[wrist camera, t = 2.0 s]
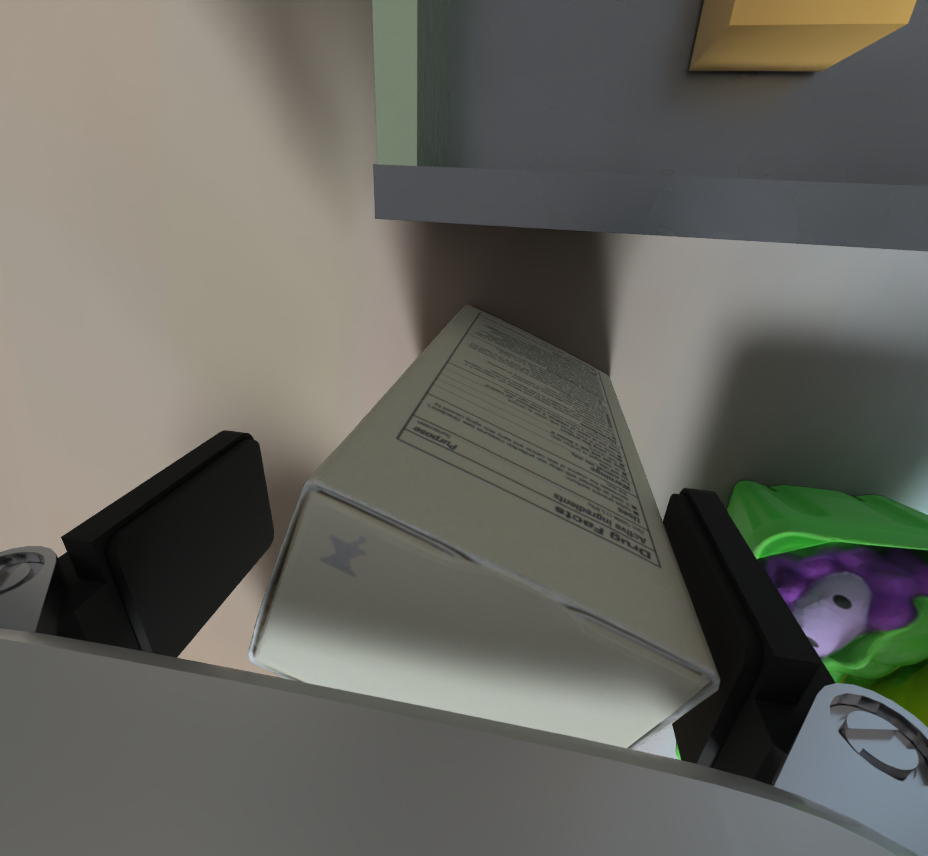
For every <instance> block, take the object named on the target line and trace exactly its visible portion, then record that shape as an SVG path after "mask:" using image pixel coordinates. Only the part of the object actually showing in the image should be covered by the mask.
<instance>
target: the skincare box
mask: <svg viewBox="0 0 928 856" xmlns="http://www.w3.org/2000/svg"><path fill="white" fill-rule="evenodd" d="M248 658H249V660H250V661H251V662H252V663H254V664H255V665H257V666H259V667H261V668H263V669H266V670H268V671H271V672H273V673H275V674H277V675H279V676H281V677H283V678H284V679H289V680H294V681H299V682H304V683H309V684H314V685H319V686H325V687H330V688H335V689H340V690H345V691H350V692H355V693H360V694H365V695H370V696H375V697H380V698H385V699H390V700H395V701H400V702H405V703H410V704H415V705H420V706H425V707H430V708H435V709H440V710H445V711H450V712H455V713H460V714H465V715H469V716H474V717H479V718H484V719H489V720H494V721H499V722H504V723H509V724H514V725H518V726H523V727H528V728H533V729H538V730H543V731H548V732H553V733H558V734H563V735H568V736H572V737H577V738H582V739H587V740H591V741H596V742H600V743H605V744H609V745H614V746H618V747H623V748H627V749H632V750H636V749H637V748H639V747H640V746H641V745H643V744H644V743H645V742H647V741H648V740H650V739H651V738H653V737H654V736H656V735H657V734H658V733H660V732H661V731H662V730H664V729H665V728H667V727H668V726H670V725H671V724H672V723H674V722H675V721H676V720H678V719H679V718H680V717H681V716H683V715H684V714H685V713H687V712H688V711H690V710H691V709H692V708H694V707H695V706H697V705H698V704H699V703H701V702H702V701H703V700H705V699H706V698H708V697H709V696H710V695H712V694H713V693H715V692H716V691H718V689H719V685H720V680H721V679H720V677H719V674H718V672H717V669H716V667H715V664H714V661H713V658H712V655H711V652H710V650H709V647H708V644H707V642H706V639H705V636H704V633H703V631H702V628H701V625H700V623H699V620H698V617H697V615H696V612H695V609H694V606H693V603H692V600H691V598H690V595H689V592H688V590H687V587H686V585H685V582H684V579H683V577H682V574H681V571H680V568H679V566H678V563H677V560H676V557H675V555H674V552H673V549H672V546H671V544H670V541H669V538H668V535H667V533H666V530H665V527H664V524H663V522H662V519H661V516H660V513H659V510H658V508H657V505H656V502H655V499H654V497H653V494H652V491H651V488H650V486H649V483H648V480H647V478H646V475H645V472H644V469H643V467H642V464H641V461H640V458H639V456H638V453H637V450H636V447H635V445H634V442H633V440H632V437H631V434H630V431H629V429H628V426H627V423H626V420H625V418H624V415H623V412H622V410H621V407H620V404H619V401H618V399H617V396H616V393H615V391H614V388H613V385H612V382H611V380H610V377H609V376H608V375H606V374H605V373H603V372H601V371H600V370H598V369H596V368H594V367H592V366H591V365H589V364H587V363H585V362H583V361H581V360H579V359H578V358H576V357H574V356H572V355H570V354H568V353H566V352H565V351H563V350H561V349H559V348H557V347H555V346H553V345H551V344H549V343H547V342H545V341H543V340H541V339H539V338H537V337H535V336H533V335H531V334H529V333H527V332H525V331H523V330H521V329H519V328H517V327H515V326H513V325H511V324H509V323H507V322H505V321H503V320H500V319H498V318H496V317H494V316H492V315H490V314H488V313H485V312H483V311H481V310H479V309H477V308H475V307H473V306H470V305H465V306H463V308H462V309H461V310H460V311H459V312H458V313H457V314H456V315H455V316H454V318H453V319H452V320H451V321H450V322H449V323H448V324H447V325H446V326H445V327H444V329H443V330H442V331H441V332H440V333H439V334H438V336H437V337H436V338H435V339H434V340H433V341H432V342H431V343H430V344H429V345H428V346H427V348H426V349H425V350H424V351H423V352H422V353H421V354H420V355H419V356H418V357H417V359H416V360H415V361H414V362H413V363H412V364H411V365H410V367H409V368H408V369H407V370H406V371H405V372H404V373H403V375H402V376H401V377H400V378H399V379H398V380H397V381H396V383H395V384H394V385H393V386H392V387H391V388H390V389H389V390H388V391H387V393H386V394H385V395H384V396H383V397H382V398H381V399H380V400H379V401H378V403H377V404H376V405H375V406H374V407H373V408H372V409H371V411H370V412H369V413H368V414H367V415H366V416H365V417H364V418H363V419H362V420H361V422H360V423H359V424H358V425H357V426H356V427H355V429H354V430H353V431H352V432H351V433H350V434H349V435H348V436H347V437H346V439H345V440H344V441H343V442H342V443H341V444H340V445H339V446H338V447H337V448H336V449H335V450H334V451H333V452H332V453H331V455H330V456H329V457H328V458H327V459H326V460H325V461H324V462H323V463H322V464H321V466H320V467H319V468H318V469H317V470H316V471H315V472H314V474H313V475H312V476H311V477H310V478H309V479H308V480H307V482H306V483H305V485H304V486H303V489H302V492H301V495H300V498H299V500H298V503H297V506H296V509H295V511H294V514H293V516H292V519H291V521H290V523H289V526H288V529H287V532H286V535H285V538H284V541H283V543H282V546H281V548H280V551H279V554H278V556H277V559H276V562H275V565H274V568H273V571H272V574H271V577H270V579H269V582H268V585H267V588H266V591H265V594H264V598H263V601H262V604H261V607H260V610H259V613H258V616H257V620H256V624H255V627H254V633H253V637H252V640H251V644H250V647H249V652H248Z"/></svg>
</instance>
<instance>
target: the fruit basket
mask: <svg viewBox="0 0 928 856" xmlns="http://www.w3.org/2000/svg"><path fill="white" fill-rule="evenodd" d="M727 512H728V514H729V515H730V517H731V518H732V520H733V522H734V523H735V525H736V526H737V528H738V530H739V531H740V533H741V535H742V536H743V538H744V539H745V541H746V543H747V544H748V546H749V548H750V549H751V551H752V552H753V554H754V556H755V557H756V559H757V560H758V562H759V563H760V564H761V565H762V567H763V568H764V569H765V570H766V572H767V574H768V575H769V577H770V578H771V580H772V582H773V583H774V585H775V586H776V588H777V590H778V591H779V593H780V594H781V596H782V598H783V599H784V601H785V602H786V604H787V606H788V607H789V609H790V610H791V612H792V614H793V615H794V617H795V618H796V620H797V622H798V623H799V625H800V626H801V628H802V630H803V631H804V633H805V634H806V636H807V638H808V639H809V641H810V642H811V644H812V646H813V647H814V649H815V650H816V652H817V654H818V655H819V657H820V658H821V660H822V662H823V663H824V665H825V667H826V668H827V670H828V671H829V673H830V675H831V676H832V678H833V679H834V681H835V683H842V684H852V685H856V686H859V687H862V688H865V689H868V690H871V691H874V692H876V693H878V694H880V695H882V696H884V697H886V698H888V699H890V700H892V701H894V702H895V703H897V704H898V705H899V706H901V707H902V708H904V709H905V710H907V711H908V712H910V713H911V714H913V715H914V716H915V717H916V718H918V719H919V720H920V721H921V722H922V723H923V724H924V725H925V726H926V727H928V515H926V514H924V513H921V512H919V511H917V510H914V509H912V508H910V507H907V506H905V505H903V504H900V503H898V502H895V501H893V500H891V499H888V498H886V497H883V496H879V495H864V496H855V497H853V496H850V495H847V494H845V493H842V492H840V491H834V490H825V489H816V488H807V487H799V486H790V485H780V486H771V487H769V488H768V487H766V486H765V485H761V484H759V483H756V482H754V481H739V482H738V483H737V484H736V485H735V487H734V490H733V493H732V496H731V499H730V502H729V505H728V508H727ZM676 755H677V757H678V758H679V759H680V760H681V757H680V753H679V749H678V745H677V741H676Z"/></svg>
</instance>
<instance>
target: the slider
mask: <svg viewBox="0 0 928 856" xmlns="http://www.w3.org/2000/svg"><path fill="white" fill-rule="evenodd" d="M916 1H917V0H704V4H703V8H702V13H701V18H700V22H699V27H698V32H697V36H696V41H695V45H694V50H693V55H692V59H691V64H690V69H689V71H823V70H825V69H827V68H829V67H831V66H832V65H834V64H836V63H838V62H840V61H841V60H843V59H845V58H847V57H849V56H850V55H852V54H854V53H856V52H858V51H859V50H861V49H863V48H865V47H867V46H868V45H870V44H872V43H874V42H876V41H877V40H879V39H881V38H883V37H885V36H887V35H888V34H890V33H892V32H894V31H896V30H897V29H899V28H901V27H903V26H905V25H906V24H908V22H909V20H910V17H911V14H912V12H913V9H914V6H915V4H916Z"/></svg>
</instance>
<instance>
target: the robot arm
mask: <svg viewBox="0 0 928 856" xmlns="http://www.w3.org/2000/svg"><path fill="white" fill-rule="evenodd" d="M663 524H664V527H665V530H666V533H667V535H668V538H669V541H670V544H671V546H672V549H673V552H674V555H675V557H676V560H677V563H678V566H679V568H680V571H681V574H682V577H683V579H684V582H685V585H686V587H687V590H688V592H689V595H690V598H691V600H692V603H693V606H694V609H695V612H696V615H697V617H698V620H699V623H700V625H701V628H702V631H703V633H704V636H705V639H706V642H707V644H708V647H709V650H710V652H711V655H712V658H713V661H714V664H715V667H716V669H717V672H718V674H719V677H720V679H721V680H720V685H719V689H718V691H716V692H715V693H713V694H712V695H710V696H709V697H708V698H706V699H705V700H703V701H702V702H701V703H699V704H698V705H697V706H695V707H694V708H692V709H691V710H690V711H688V712H687V713H685V714H684V715H683V716H681V717H680V718H679V719H678V720H676V721H675V722H674V723H672V725H673V729H674V733H675V737H676V741H677V745H678V749H679V753H680V757H681V760H677V759H673V758H668V757H664V756H659V755H654V754H650V753H645V752H641V751H636V750H632V749H627V748H623V747H618V746H614V745H609V744H605V743H600V742H596V741H591V740H587V739H582V738H577V737H572V736H568V735H563V734H558V733H553V732H548V731H543V730H538V729H533V728H528V727H523V726H518V725H514V724H509V723H504V722H499V721H494V720H489V719H484V718H479V717H474V716H469V715H465V714H460V713H455V712H450V711H445V710H440V709H435V708H430V707H425V706H420V705H415V704H410V703H405V702H400V701H395V700H390V699H385V698H380V697H375V696H370V695H365V694H360V693H355V692H350V691H345V690H340V689H335V688H330V687H325V686H319V685H314V684H309V683H304V682H299V681H294V680H289V679H284V678H279V677H274V676H269V675H264V674H258V673H253V672H248V671H243V670H238V669H233V668H227V667H222V666H217V665H212V664H206V663H201V662H196V661H191V660H186V659H180V658H177V657H178V656H179V655H180V653H181V652H182V651H183V650H184V649H185V647H186V646H187V645H188V644H189V643H190V641H191V640H192V639H193V638H194V637H195V635H196V634H197V633H198V632H199V631H200V629H201V628H202V627H203V626H204V625H205V623H206V622H207V621H208V620H209V619H210V618H211V616H212V615H213V614H214V613H215V612H216V610H217V609H218V608H219V607H220V606H221V604H222V603H223V602H224V601H225V600H226V598H227V597H228V596H229V595H230V594H231V592H232V591H233V590H234V589H235V588H236V586H237V585H238V584H239V583H240V582H241V580H242V579H243V578H244V577H245V576H246V574H247V573H248V572H249V571H250V570H251V569H252V567H253V566H254V565H255V564H256V563H257V561H258V560H259V559H260V558H261V557H262V555H263V554H264V553H265V552H266V551H267V549H268V548H269V547H270V545H271V543H272V541H273V538H274V528H273V522H272V516H271V510H270V504H269V498H268V493H267V487H266V481H265V475H264V469H263V463H262V457H261V451H260V446H259V443H258V442H257V441H256V440H254V439H253V437H252V436H251V435H250V434H249V433H242V432H234V431H222V432H220V433H218V434H217V435H215V436H214V437H212V438H210V439H209V440H207V441H206V442H204V443H203V444H201V445H200V446H198V447H197V448H195V449H194V450H192V451H191V452H189V453H188V454H186V455H185V456H183V457H182V458H180V459H179V460H177V461H176V462H174V463H173V464H171V465H170V466H168V467H167V468H165V469H164V470H162V471H160V472H159V473H157V474H156V475H154V476H153V477H151V478H150V479H148V480H147V481H145V482H144V483H142V484H141V485H139V486H138V487H136V488H135V489H133V490H132V491H130V492H129V493H127V494H126V495H124V496H123V497H121V498H120V499H118V500H117V501H115V502H114V503H112V504H110V505H109V506H107V507H106V508H104V509H103V510H101V511H100V512H98V513H97V514H95V515H94V516H92V517H91V518H89V519H88V520H86V521H85V522H83V523H82V524H80V525H79V526H77V527H76V528H74V529H73V530H71V531H70V532H68V533H67V534H65V535H64V536H62V537H61V538H62V541H63V543H64V545H65V548H66V550H67V552H66V553H65V554H63V555H62V556H60V557H59V558H58V557H57V555H56V553H55V552H54V551H53V550H52V549H50V548H46V547H42V546H26V547H20V548H14V549H9V550H6V551H3V552H0V856H928V727H926V726H925V725H924V724H923V723H922V722H921V721H920V720H919V719H918V718H916V717H915V716H914V715H913V714H911V713H910V712H908V711H907V710H905V709H904V708H902V707H901V706H899V705H898V704H897V703H895V702H894V701H892V700H890V699H888V698H886V697H884V696H882V695H880V694H878V693H876V692H874V691H871V690H868V689H865V688H862V687H859V686H856V685H852V684H842V683H835V681H834V679H833V678H832V676H831V675H830V673H829V671H828V670H827V668H826V667H825V665H824V663H823V662H822V660H821V658H820V657H819V655H818V654H817V652H816V650H815V649H814V647H813V646H812V644H811V642H810V641H809V639H808V638H807V636H806V634H805V633H804V631H803V630H802V628H801V626H800V625H799V623H798V622H797V620H796V618H795V617H794V615H793V614H792V612H791V610H790V609H789V607H788V606H787V604H786V602H785V601H784V599H783V598H782V596H781V594H780V593H779V591H778V590H777V588H776V586H775V585H774V583H773V582H772V580H771V578H770V577H769V575H768V574H767V572H766V570H765V569H764V568H763V567H762V565H761V564H760V563H759V562H758V560H757V559H756V557H755V556H754V554H753V552H752V551H751V549H750V548H749V546H748V544H747V543H746V541H745V539H744V538H743V536H742V535H741V533H740V531H739V530H738V528H737V526H736V525H735V523H734V522H733V520H732V518H731V517H730V515H729V514H728V512H727V510H726V509H725V507H724V505H723V504H722V502H721V501H720V499H719V497H718V496H717V494H716V493H715V492H712V491H704V490H696V489H688V488H684V489H682V491H681V492H680V494H672V496H671V497H670V500H669V503H668V506H667V510H666V513H665V516H664V520H663Z"/></svg>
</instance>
